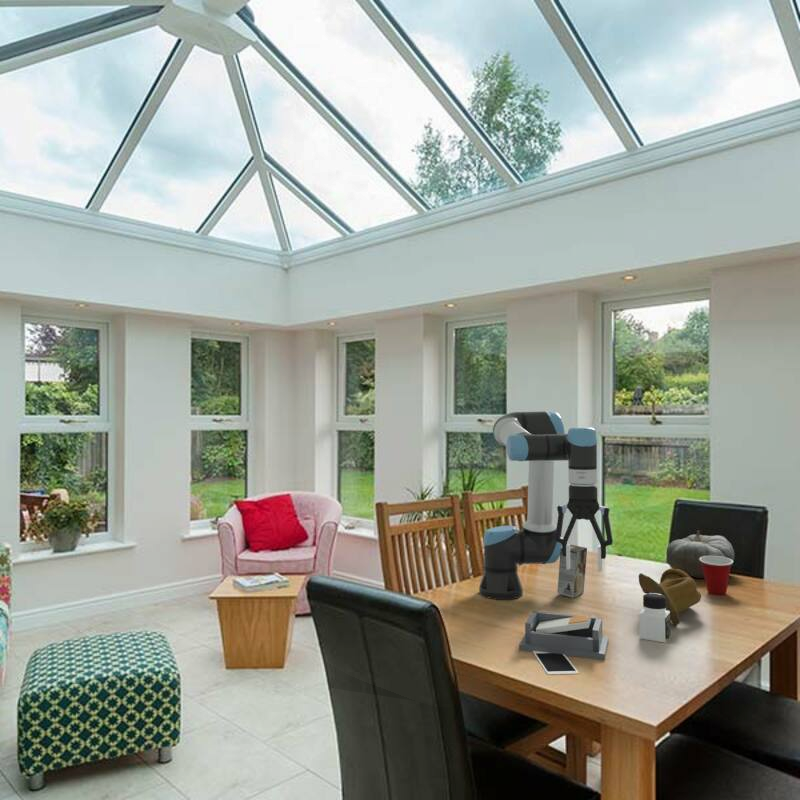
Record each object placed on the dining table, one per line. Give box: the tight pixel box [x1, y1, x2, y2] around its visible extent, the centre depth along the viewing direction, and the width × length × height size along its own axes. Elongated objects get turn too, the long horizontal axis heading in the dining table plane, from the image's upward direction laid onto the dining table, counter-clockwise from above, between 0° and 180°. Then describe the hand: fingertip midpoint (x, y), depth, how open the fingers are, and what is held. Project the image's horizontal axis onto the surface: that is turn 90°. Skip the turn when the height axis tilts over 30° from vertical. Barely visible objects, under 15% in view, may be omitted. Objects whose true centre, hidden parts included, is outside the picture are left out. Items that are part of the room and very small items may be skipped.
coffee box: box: [556, 544, 588, 598], centre depth 234 cm, size 9×6×16 cm
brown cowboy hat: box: [638, 568, 702, 627], centre depth 209 cm, size 23×16×28 cm
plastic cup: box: [699, 556, 734, 596], centre depth 234 cm, size 11×11×12 cm
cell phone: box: [532, 651, 580, 676], centre depth 170 cm, size 8×16×1 cm, turn 2°
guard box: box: [518, 610, 609, 661], centre depth 182 cm, size 22×14×7 cm, turn 69°
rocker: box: [536, 614, 591, 633], centre depth 182 cm, size 14×7×2 cm, turn 69°
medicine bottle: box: [638, 593, 672, 644], centre depth 188 cm, size 7×7×12 cm
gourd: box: [666, 530, 735, 579], centre depth 262 cm, size 25×25×17 cm
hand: (584, 569), depth 180 cm, fingers open, 8 cm apart
